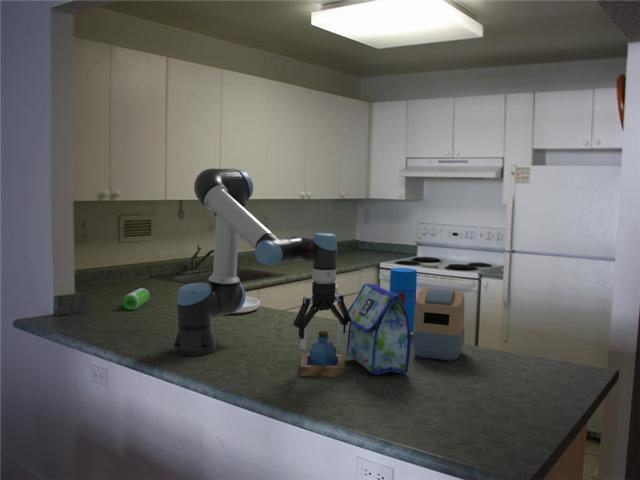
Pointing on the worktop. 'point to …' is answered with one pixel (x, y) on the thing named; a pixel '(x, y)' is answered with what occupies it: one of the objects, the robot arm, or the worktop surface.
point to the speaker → (136, 299)
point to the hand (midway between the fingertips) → (322, 345)
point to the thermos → (405, 290)
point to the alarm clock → (439, 324)
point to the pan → (248, 305)
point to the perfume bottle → (323, 351)
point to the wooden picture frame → (322, 367)
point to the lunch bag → (379, 331)
